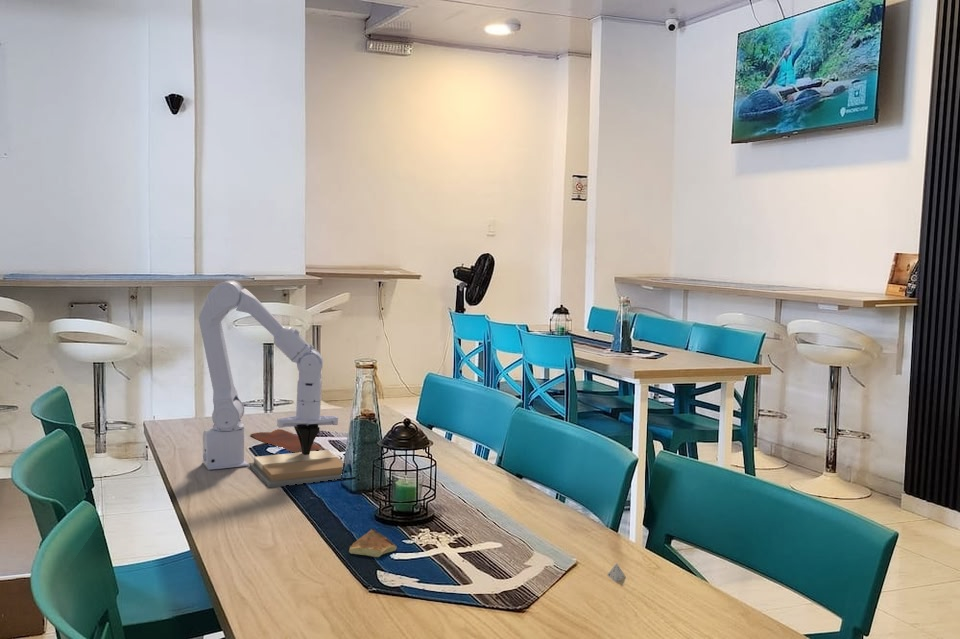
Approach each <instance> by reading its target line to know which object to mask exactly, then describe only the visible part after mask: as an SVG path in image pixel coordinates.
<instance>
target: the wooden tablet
mask: <svg viewBox="0 0 960 639" xmlns="http://www.w3.org/2000/svg"><path fill="white" fill-rule="evenodd" d="M250 437H252V438H253V439H255V440H258V441H260V442H262V443H265V444H267V443H268V444H267V445H269V444H272V445H275V446H278V447H283V448H285V449H286V450H289V451H291V452H290V453H292V452H295V453H299V452H302V449H301V444H300V441H299V438H298V435H297V434H295V433H293V432H290V431H287V430H285V429H281V428H278V429H274V430H273V431H270V432H269V431H268V432H263V431H262V432H261V431H260V432H253V433H251V434H250ZM272 445H271V446H272ZM275 446H274V447H275ZM322 448H323V447H321V446H320V445H318V444H315V443H313V444H312V447H311V450H310V451H315V450H319V449H322ZM286 450H285V451H286ZM289 451H288V452H289Z"/></svg>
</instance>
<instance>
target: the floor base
mask: <svg viewBox="0 0 960 639" xmlns="http://www.w3.org/2000/svg"><path fill="white" fill-rule="evenodd" d="M343 462H344V461H343V460H342V459H341V458H339V457H338V458H331V459H321V460H311V461H302V462H292V463H282V464H272V465H263V471H262V470H261V469H260V468H259V467H258V466H257V465H256V464H255V463H254V461H253V462H249V466H248V467H249V468H250V469H251V470H252V471H253V472H254V473H255V474H256V475H257V476H258V478H259V479H260V480H262V482H263V483H264V484H265V485H266V486H267V487H268V488H270V489H271V488H278V487H287V486H286V485H289V486H296V485H295V484H297V485H304V484H303V483H306V484H311V483H312V484H314V483H313V482H315V483H320V481H324V482H329V481H328V480H332V481H338V480H337V479H340V478H341V474H342V468H343ZM334 479H335V480H334Z"/></svg>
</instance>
